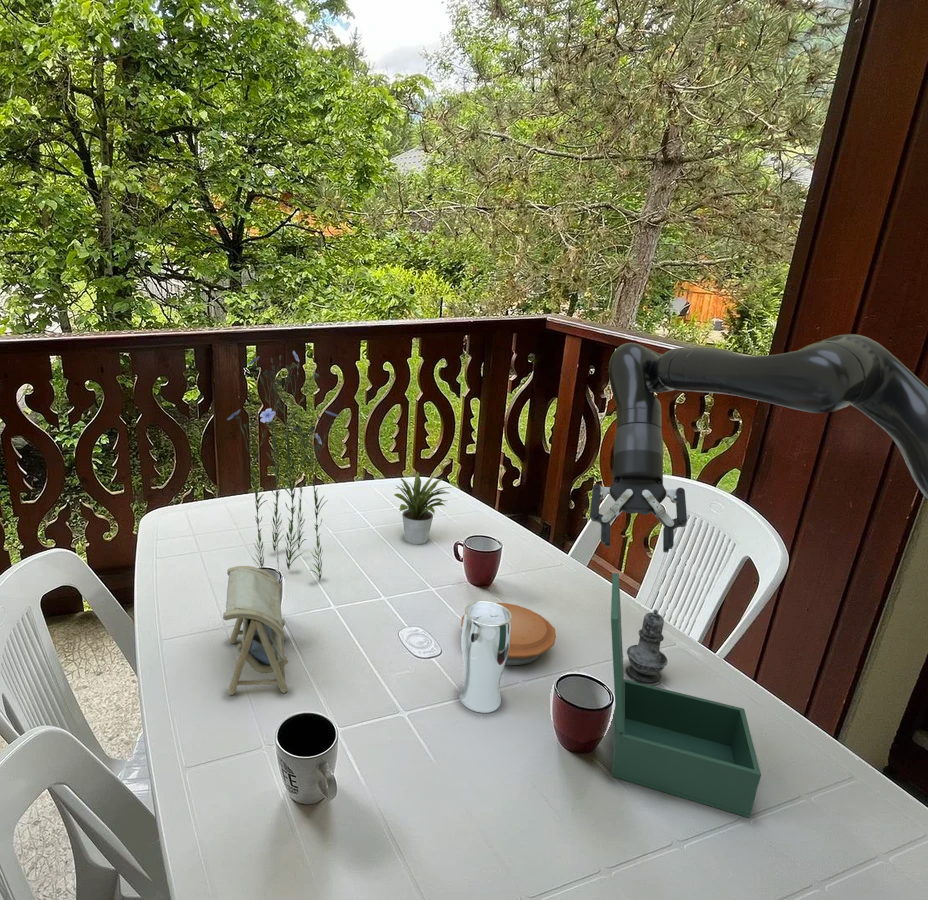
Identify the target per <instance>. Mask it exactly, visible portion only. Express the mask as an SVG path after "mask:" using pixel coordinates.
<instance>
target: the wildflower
mask: <svg viewBox="0 0 928 900" xmlns="http://www.w3.org/2000/svg"><path fill="white" fill-rule="evenodd" d="M292 355H293V356H294V359H295V361H296V362H298V363H297V364H296V363H295V362H291V363H289V364H288V365H285V370H286V371H287V374H284V376H283V375H282V377H281V378H280V371H281V366H282V363H279V366H278V365H277V367H276V365H274V364H273V363H274V358H273V357H270V363H271V369H272V370H270V371H268V370H267V369H265V371H263V369H262V367H261V366H260V364H259V363H257V365H258V366H257V365H256V363H255V362H258V360H259V358H260V356H256V358H253V359H252V360H250V362H248V366H251V369H253V370H255V371H256V372H257V374H258V376H259V379H260V383H261V385H262V387H263V389H264V394H265V395H264V399H265V401H266V403H268V404H269V406H271V402H272V404H273V407H272V408H266V409H265V410H264V411H261V413H260V415H259V417H260V422H261V423H263V424H264V426H265V428H264V432H263V429H262V428H261V436H262V438H261V442H260V444H259V446H258V449H257V452H255V455H254V457H253V461H252V459H250V462H251V465H252V466H251V467H254V466H255V464H256V462H257V460H258V459H259V458H260V456H259V455H260V453H261V451H260V448H261V446H262V445H263V443H264V442H265V441H266V439H264V438H265V437H266V436H267V432H268V431H269V428H270V430H271V436H272V437H271V438H272V448H273V450H272V449H271V448H269V450H270V453H271V456H272V457H271V456H270V454H269V453H268V452H265V453H266V455H267V456H268V458H269V461H270V463H271V464H272V466H273V467H272V466H271V465H268V467H269V468H270V469H271V470H272V472H273V473H274V476H275V477H274V476H273V474H272V473H270V472H267V471H265V474H268V475H270V476H271V478H273V479H274V481H275V493H274V490H273V488H272V487H271V492H272V494H273V495H274V496H275V502H274V501H273V504H274V507H275V510H274V512H273V513H274V516H272V520H271V521H270V522H271V524H272V529H273V530H272V531H271V532H272V549H273V551H274V552H276V553H279V542H280V541H281V540H282V538H283V537H285V534H282V535H281V537H280V538H279V535H280V533H281V532H282V529H281V530H279V529H280V526H281V525H282V522H283V519H280V517H281V514H282V512H280V513H279V515H278V512H279V508H278V505H279V496H280V492H281V489H279V487H281V488H283V490H285V491H286V492H287V493H288V495H289V496H290V497H291V498H290V499H291V507H290V508H289V507H288V504H287V502H285V507H286V508H287V510H288V511H289V512H290V513H291V519H290V518H289V517H287V520H288V521H289V522H288V532H289V533H288V532H286V538H284V540H285V542H286V546H287V547H285V555H286V558H285V561H286V568H287V569H288V570H290V567H291V565H292V564H293V563H294V561H295V560H296V559H297V558H298V557H300V556H301V555H303V553H302V552H301V553H299V554H298V555H296V556H295V557H294V558H293V556H294V554H295V552H296V551H298V550H300V548H301V546H302V544H303V543H304V542H305V541H306V540H307V538H304V539H302V536H303V534H304V533H305V531H302V530H303V528H304V524H305V521H306V518H304V519H303V516H304V512H302V498H301V497H299V495H300V496H302V493H303V490H304V488H303V487H304V484H306V483H307V481H308V479H309V477H308V475H309V474H308V473H309V472H310V471H311V473H312V477H311V478H310V481H311V482H310V483H311V484H312V486H313V494H314V495H313V498H314V506H315V507H314V514H315V519H316V523H315V524H314V526H313V528H314V529H315V532H316V533H315V534H316V548H317V549H316V548H315V547H313V549H314V553H315V554H314V553H313V552H312V551H310V554H311V555H312V557H313V560H314V561H315V562H316V563H312V565H313V566H314V567H315V568H316V570H317V572H318V573H317V572H316V570H313V569H310V572H311V571H312V572H313V573H315V574H316V575H317V577H318V579H319V582H321V579H322V574H323V569H322V567H323V566H322V565H323V560H322V555H323V549H322V546H321V541H320V535H321V533H319V532H318V529H319V528H320V526H321V524H318V515H319V513H320V511H321V509H322V508H323V506H324V505H325V504H326V503H327V502H328V501H329V500H328V499H327V500H325V502H323V503H322V500H323V499H324V497H325V494H324V495H323V496H322V498H321V499H320V500H319V497H318V496H317V493H318V489H319V487H317V488H316V485H315V484H316V482H317V481H318V479H319V477H317V478H315V476H314V475H315V474H314V473H315V471H316V469H317V468H318V466H319V463H320V462H321V458H322V455H321V452H322V449H324V448H325V445H326V443H327V442H328V441H329V439H327V438H328V436H329V435H330V431H331V428H332V427H333V425H334V423H335V420H334V419H332V418H333V417H338V418H340V415H339V414H337V413H335V412H332V411H330V410H329V411H328V410H325V409H324V410H323V412H325V413H326V414H328V415H330V416H331V417H330V421H329V423H328V424H327V430H326V433H325V431H323V438H324V440H323V442H322V439H321V436H322V435H319V433H318V432H319V431H320V428H316V427H318V426H320V425H321V422H318V424H316V426H315V425H313V420H314V419H310V420H309V422H310V424H311V426H308V427H307V432H305V433H303V429H302V428H301V427H302V426H301V422H302V418H301V417H299V418H298V422H299V425H296V422H294V423H293V425H294V427H293V428H292V434H291V435H290V434H289V433H288V431H289V430H288V428H289V426H290V425H291V424H292V422H293V421H296V417H297V413H298V412H299V411H300V408H299V409H298V407H299V405H300V403H301V402H303V401H304V400H305V398H306V397H308V396H310V394H306V393H307V392H308V391H309V390H310V388H311V387H312V385H313V383H314V381H315V380H316V379H317V378H319V377H320V375H319V374H318V373H317V372H313V374H312V375H311V377H309V378H308V379H309V382H308V383H307V386H305V383H304V382H303V383H302V384H303V395H302V397H301V399H300V401H299V403H298V404H297V406H296V408H295V410H294V411H291V412H290V417H289V420H288V423H287V422H286V414H285V412H286V409H285V408H286V407H285V406H286V401H287V400H288V398H289V401H290V404H291V409H293V406H294V402H295V397H296V395H297V393H298V391H299V390H300V387H298V388H297V381H298V379H299V375H300V373H299V369H300V359H299V356H298V354H297V353H296V351H295V350H292ZM278 357H279V358H278V359H279V361H281V360H282V354H280V355H279V356H278ZM295 368H296V369H297V370H296V375H295V374H293V375H292V373H293V370H294V369H295ZM258 371H259V372H258ZM262 371H263V372H262ZM276 373H277V374H276ZM262 374H263V376H264V377H265V378H266V383H267V390H268V391H269V392H268V393H270V395H269V397H268V394H267V390H266V387H265V380H264V378H263V376H262ZM277 376H278V377H277ZM283 377H284V379H283ZM293 377H294V378H293ZM296 377H297V378H296ZM268 379H269V380H268ZM282 379H283V380H282ZM292 379H294V382H295V383H294V384H295V386H294V387H295V388H294V390H293V389H292V390H291V391H292V394H293V399H292V398H291V393H288V390H286V391H285V396H284V394H283V391H284V390H285V389H288V386H289V384H290V385H291V386H293V383H292ZM312 379H313V380H312ZM269 381H270V388H269ZM311 381H312V382H311ZM310 383H311V384H310ZM283 384H284V386H283V388H282V385H283ZM309 385H310V386H309ZM279 386H280V388H279ZM296 388H297V390H296ZM280 390H281V392H280ZM272 391H273V392H272ZM279 392H280V395H279ZM287 394H288V395H287ZM271 395H272V397H275V396H276V398H272V400H271ZM281 399H282V400H283V408H282V404H281ZM278 409H279V410H280V412H281V413H282V414H283V418H284V423H285V427H286V432H283V433H284V434H283V437H284V439H285V441H286V450H287V451H286V452H287V454H286V458H287V461H288V464H287V462H286V461H285V460H283V462H284V465H285V468H286V470H285V469H284V467H283V466H282V465H281V464H280V463H279V456H280V454H279V447H278V446H277V431H275V434H274V428H275V430H277V429H278V427H277V424H278V420H279V416H278V415H279V413H278V412H279V410H278ZM241 411H242V410H241V409H237V411H235V412H233V413H231V415H229V416H228V417H227V418H226V420H227V421H230V420H232V419H233V418H234V419H236V420H237V421H239V423H238V425H239V426H240V430H241V434H242V435H243V438H244V441H245V444H244V446H245V449H246V451H247V452H248V453H249V457H250V458H252V454H251V450H250V449H249V448H251V442H252V443H253V447H256V443H257V439H258V437H259V434H260V432H258V433H257V434H256V436H252V437H251V435H252V430H251V429H253V431H255V429H254V428H253V427H254V426H255V427H257V425H258V423H254V422H258V420H259V419H258V410H256V411H255V416H256V417H255V418H256V421H255V420H253V419H251V418H249V422H250V424H251V425H249V424H246V423H244V424H243V425H241V424H242V420H241V418H240V415H239V416H238V414H240V413H241ZM247 413H248V417H251V415H252V413H251V412H250V411H248V412H247ZM320 419H321V416H317V420H318V421H320ZM243 427H244V428H245V429H244V428H243ZM248 427H249V435H248V434H246V435H245V431H246V432H248V430H247V428H248ZM315 430H317V432H315ZM295 432H296V434H297V435H298V437H299V438H300V439H299V441H300V444H301V445H302V446H303V448H304V450H303V448H301V445H298V442H299V441H294V443H295V446H296V448H299V450H296V452H297V453H296V454H297V455H299V453H301V454H303V452H304V453H305V454H304V455H303V461H302V462H301V469H303V467H304V465H305V464H306V460H307V461H308V462H309V463H310V465H309V468H308V471H307V474H306V475H305V478H304V480H303V483H302V484H301V485H299V480H298V479H296V477H295V475H294V474H295V471H296V469H297V473H298V475H299V478H300V479H303V474H301V471H300V470H301V469H299V467H298V466H299V463H297V465H298V466H297V465H295V461H294V460H293V461H292V458H293V456H292V450H291V449H292V447H293V444H292V445H291V446H290V447H289V440H290V438H292V437H293V436H294V433H295ZM313 435H314V437H315V439H316V440H315V441H316V445H315V444H313ZM246 436H247V438H249V437H251V438H250V439H246ZM310 436H311V437H310ZM254 438H255V440H254ZM309 438H311V441H310V445H309ZM293 439H294V440H296V437H293ZM305 439H306V440H305ZM246 440H248V442H247V441H246ZM248 444H249V446H248ZM320 445H321V446H322V447H321V446H320ZM310 446H311V447H310ZM307 448H309V454H308V451H307ZM313 448H314V453H313V455H312V450H313ZM318 452H319V454H318ZM317 454H318V457H317ZM315 460H316V461H315ZM291 462H292V463H291ZM313 462H314V465H312V464H313ZM280 467H281V469H282V471H283V474H284V475H285V477H286V478H287V480H288V481H287V480H286V479H284V478H281V479H282V481H284V482H285V483H286V485H287V486H288V488H289V491H290V492H289V491H288V489H287V488H286V487H284V486H283V485H281V484H279V480H280V474H279V471H280ZM313 467H314V468H313ZM255 473H256V474H255ZM258 473H259V468H257V470H256V472H255V471H254V470H253V469H251V470H250V474H251V477H252V479H253V488H254V495H255V496H254V497H255V509H256V515H255V522H256V526H257V538H255V541H256V543H255V542H253V544H254V547H255V550H256V552H257V554H256V553H254V555H255V556H256V558H257V561H258V562H259V563H258V562H257V561H256V558H255V559H254V558H253V560H254V561H255V563H256V564H257V566H258V568H260V569H261V568H262V569H263V568H264V569H265V566H264V563H265V556H264V550H265V548H264V541H262V533H261V531H262V527H261V528H259V527H260V526H259V525H260V523H261V521H262V520H263V517H261V519H260V518H259V510H260V507H261V506H262V505H263V504H264V503H265V502H268V501H269V500H268V499H267V500H264V501H262V502H261V503H260V501H261V499H262V497H263V496H264V495H265V493H263V494H261V495H260V496H259V491H258V489H257V485H258V482H256V480H255V479H256V476H257V474H258ZM319 474H320V473H319V472H318V473H317V475H319ZM296 481H297V485H298V489H299V492H300V494H299V495H297V496H298V501H299V502H298V512H297V518H296V519H297V521H298V523H297V526H296V528H297V530H295V532H294V534H293V530H294V514H295V512H296V510H297V508H296V507H297V505H294V499H295V496H296V495H295V494H296V489H295V486H296ZM258 497H259V498H258ZM320 504H322V505H321V506H320ZM319 507H320V508H319ZM302 521H303V522H302ZM322 521H323V518H321V519H320V523H322ZM318 533H319V534H318ZM296 534H297V538H296ZM295 538H296V539H295ZM257 539H258V540H257ZM301 539H302V541H301ZM296 544H297V548H296V549H294V548H295V546H296ZM262 549H263V550H262ZM293 549H294V550H293ZM315 555H316V556H315ZM275 558H276V561H277V562H276V563H279V554H277V557H275ZM292 558H293V560H292ZM291 560H292V561H291ZM316 564H317V565H316ZM279 566H280V565H277V569H279V568H280V567H279Z"/></svg>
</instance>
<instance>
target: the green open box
mask: <svg viewBox="0 0 928 900" xmlns="http://www.w3.org/2000/svg"><path fill="white" fill-rule="evenodd" d="M612 719H613V725H612V765H611V776H612V778H616V779H618V780H619V779H620V780H623V781H626V782H629V783H633V784H635V785H639V786H642V787H645V788H650V789H652V790H656V791H658V792H663V793H666V794H669V795H672V796H675V797H678V798H682V799H685V800H688V801H692V802H696V803H698V804H701V805H705V806H708V807H711V808H715V809H718V810H722V811H724V812H729V813H731V814H734V815H738V816H741V817H744V818H749V819H750V817H751V814H752V809H753V806H754V802H755V799H756V795H757V791H758V787H759V784H760V780H761V777H762V772H761V769H760V765H759V761H758V757H757V754H756V753H757V752H756V749H755V746H754V742H753V737H752V734H751V730H750V726H749V722H748V718H747V715H746V710H745V708H742V707H739V706H735V705H730V704H726V703H723V702H719V701H715V700H711V699H706V698H702V697H698V696H694V695H691V694H687V693H683V692H678V691H673V690H670V689H666V688H662V687H659V686H655V685H654V686H650V685H646V684H642V683H638V682H635V681H634V680H631V679H626V678H624V732H617V728H616V709H615V708H614V711H613V718H612Z"/></svg>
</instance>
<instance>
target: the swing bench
mask: <svg viewBox="0 0 928 900" xmlns="http://www.w3.org/2000/svg"><path fill="white" fill-rule="evenodd" d="M226 571H227V572H226V574H227V576H228V578H227V589H226V602H225V612H223V614H222V618H223V620H224V621H229V620H235V619H236V620H235V623H234V627H233V630H232V633H231V635H230V639H229V642H230V643H231V644H236V642H237V640H238V637H239V636H242V642H240V643H238V644H237V651H238V652H239V656H238V659H237V663H236V665H235V668H234V671H233V674H232V678H231V680H230V684H229V687H228V690H227V693H228V695H229V696H234V695H235V694H236V690H237V687H238V686H239V687H241V686H269V685H277V686H278V687H279V690H280V692H281V693H282V694H285V693H287V692H288V686H287V683H286V665H287V664H288V663H289V659H288V656H286V655H285V641H286V639H287V636H286V633H285V630H284V629H283V628H284V627H285V625H286V621H285V619H283V617H282V607H281V606H282V605H281V604H282V603H281V591H282V586H281V583H280V582H279V581H278V580H277V578H275V576H274V575H272V574H271V573H269V572H268V571H266V570H265V569H264V570H263V568H262V569H261V567H260V568H259V567H255V566H251V565H237V566H232V567H228V569H227V570H226ZM242 625H243V626H242ZM241 627H242V630H241ZM246 662H247V663H248V665H249V666H250V668H251V669H253V670H254V671H255V672H257V673H259V674H262V675H263V674H265V675H269V674H271V673H273V675H274V677H275V678H273V679H249V680H248V679H246V680H244V679H243V680H240V678H241V676H242V672H243V669H244V666H245V664H246Z"/></svg>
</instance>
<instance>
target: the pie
mask: <svg viewBox="0 0 928 900" xmlns="http://www.w3.org/2000/svg"><path fill="white" fill-rule="evenodd" d="M497 603H498V604H500V605H502V606H504V607H506V608H507V609H508V610H509V611H510V613H511V615H512V618H511V642H510V649H509V653H508V657H507V661H506V664H505V665H507V666H522V665H523V666H524V665H527V664H530V663H532V662H535V661H536V660H537V659H539V657H540V656H541V655H542V654H545V653H546V652H548V651H549V650H550V649H551V648H552V647H553V646H554V645H555V642H556V638H557V633H556V629H555V628H556V627H554V626H553V625H552V624H551V623H550V622H549V620H548V619H546V618H545V617H543V616H542V615H541V614H539V613H537V612H535V611H534V610H532V609H529V608H526V607H523V606H521V605H519V604H513V603H507V602H497ZM464 615H465V613H464V614H463V615H462V617H461V627H462V626H463V620H464Z"/></svg>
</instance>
